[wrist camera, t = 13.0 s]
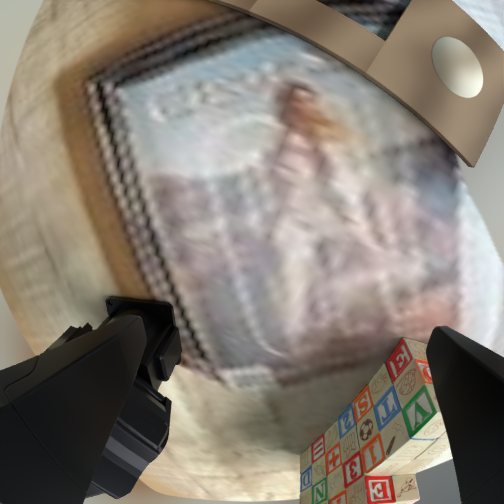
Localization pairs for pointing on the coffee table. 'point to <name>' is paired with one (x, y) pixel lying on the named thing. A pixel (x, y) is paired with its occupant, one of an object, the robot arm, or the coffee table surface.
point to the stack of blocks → (379, 438)
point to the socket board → (410, 61)
